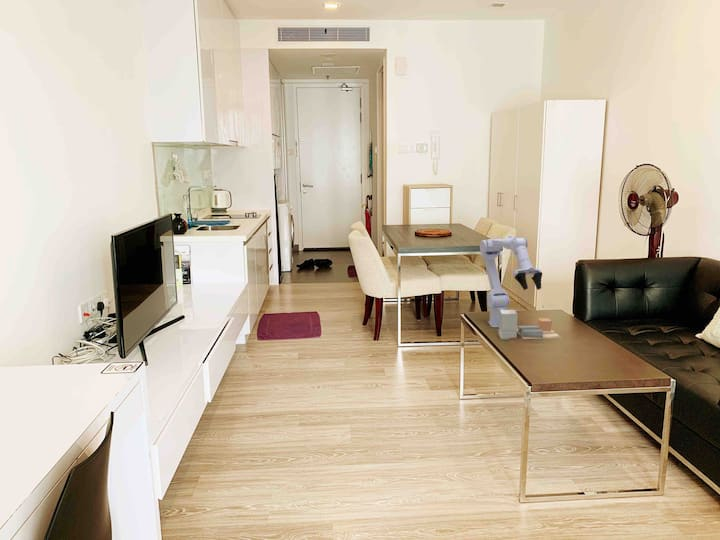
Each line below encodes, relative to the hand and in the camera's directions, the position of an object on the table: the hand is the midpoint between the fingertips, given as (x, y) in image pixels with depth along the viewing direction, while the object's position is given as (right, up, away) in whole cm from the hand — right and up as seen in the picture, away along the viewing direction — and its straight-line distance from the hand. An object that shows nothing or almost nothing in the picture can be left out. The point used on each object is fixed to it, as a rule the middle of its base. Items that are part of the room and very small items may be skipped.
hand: (532, 289), depth 249 cm
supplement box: (-8, -23, +13) cm, 28 cm away
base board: (+7, -22, +17) cm, 29 cm away
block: (+12, -20, +21) cm, 32 cm away
